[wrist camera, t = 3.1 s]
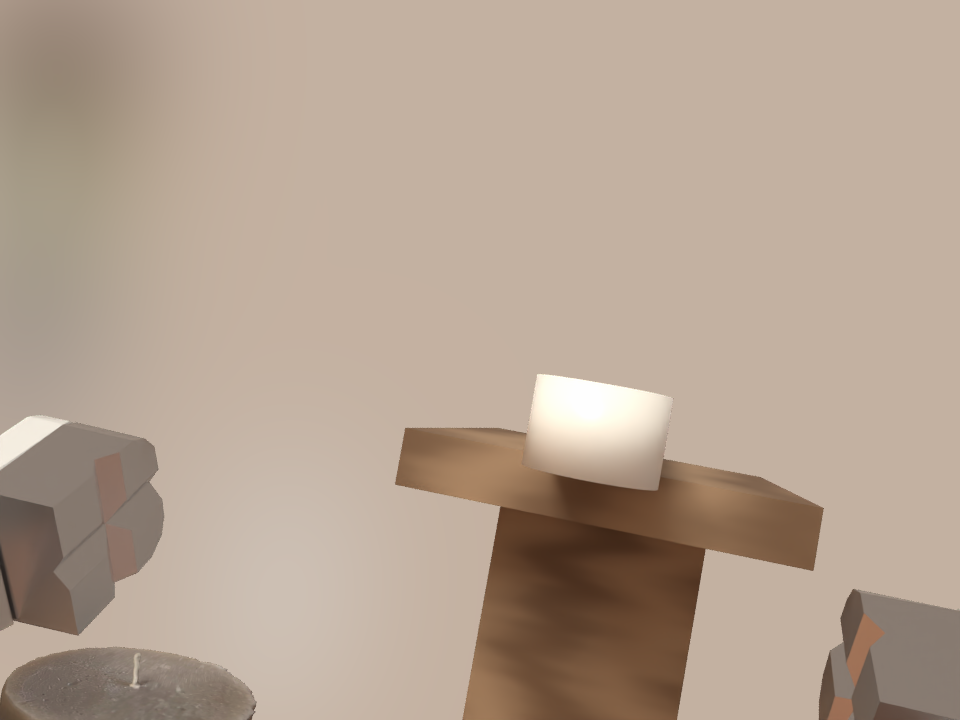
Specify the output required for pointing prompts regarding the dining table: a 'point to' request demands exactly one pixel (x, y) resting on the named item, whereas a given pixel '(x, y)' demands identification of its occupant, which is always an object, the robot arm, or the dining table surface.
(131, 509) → the robot arm
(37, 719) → the pillar candle
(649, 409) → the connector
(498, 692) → the stand
